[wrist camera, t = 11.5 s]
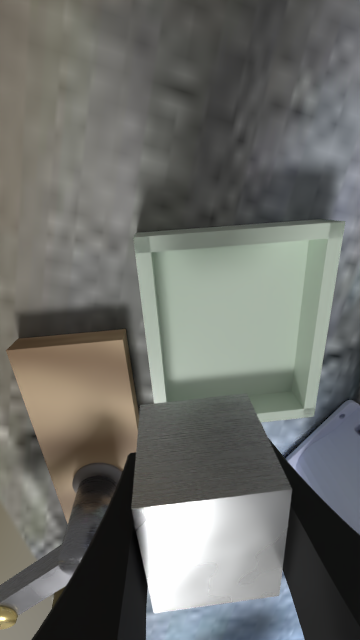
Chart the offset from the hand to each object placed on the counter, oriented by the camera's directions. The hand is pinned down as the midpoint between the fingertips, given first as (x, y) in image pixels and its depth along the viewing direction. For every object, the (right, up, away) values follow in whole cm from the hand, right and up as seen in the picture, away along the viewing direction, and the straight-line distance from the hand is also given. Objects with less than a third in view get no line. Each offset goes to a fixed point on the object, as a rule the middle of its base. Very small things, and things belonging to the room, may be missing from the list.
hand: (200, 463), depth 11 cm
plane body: (-7, -4, +11) cm, 14 cm away
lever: (-10, -10, +11) cm, 18 cm away
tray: (+3, +5, +8) cm, 10 cm away
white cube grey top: (0, 0, +1) cm, 1 cm away
